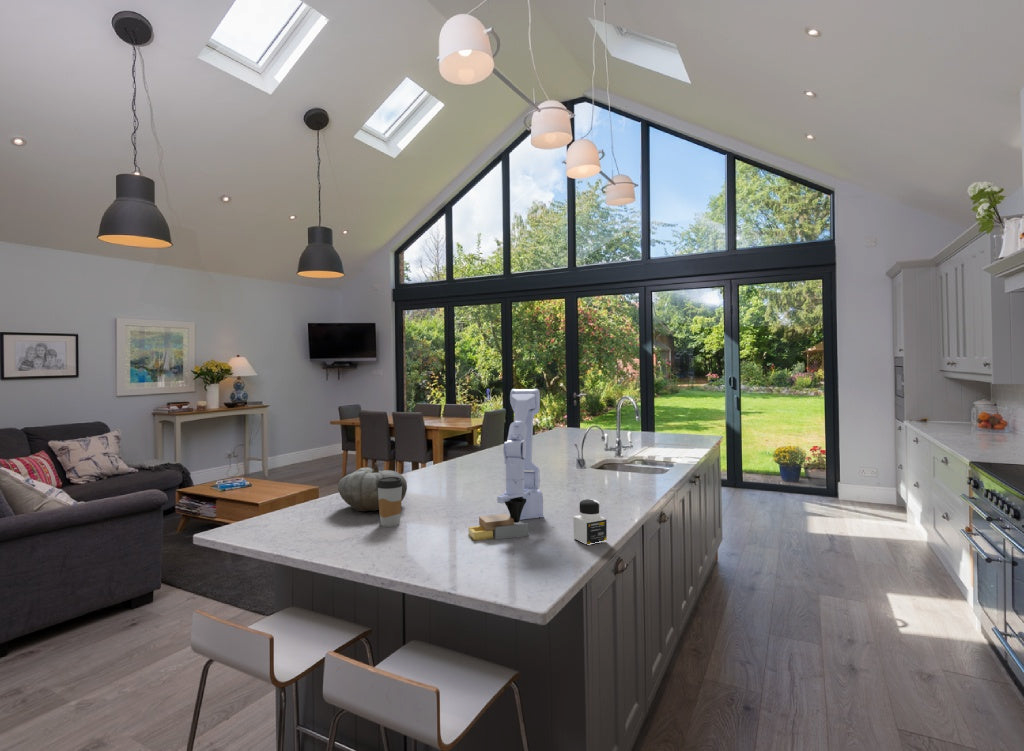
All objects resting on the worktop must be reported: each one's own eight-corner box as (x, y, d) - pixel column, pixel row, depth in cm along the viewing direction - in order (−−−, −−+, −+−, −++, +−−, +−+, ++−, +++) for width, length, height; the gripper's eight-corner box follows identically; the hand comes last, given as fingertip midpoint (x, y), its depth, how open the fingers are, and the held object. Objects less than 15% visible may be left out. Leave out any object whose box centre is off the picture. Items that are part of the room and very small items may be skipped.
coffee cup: (408, 522, 185) (407, 477, 184) (392, 529, 177) (392, 482, 177) (388, 519, 188) (387, 475, 188) (372, 526, 181) (371, 480, 180)
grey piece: (518, 527, 177) (518, 516, 177) (528, 535, 169) (528, 523, 169) (487, 531, 174) (487, 519, 174) (496, 539, 165) (496, 527, 165)
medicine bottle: (587, 546, 158) (586, 504, 158) (573, 539, 165) (572, 499, 165) (607, 542, 162) (606, 501, 161) (592, 535, 168) (592, 496, 168)
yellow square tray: (487, 532, 172) (487, 525, 172) (493, 538, 166) (493, 530, 166) (468, 534, 170) (468, 527, 170) (474, 540, 164) (473, 532, 164)
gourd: (339, 513, 186) (343, 461, 189) (332, 508, 209) (336, 462, 212) (412, 513, 196) (415, 463, 199) (398, 508, 218) (401, 464, 221)
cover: (506, 521, 175) (506, 513, 175) (514, 527, 169) (513, 519, 169) (479, 524, 172) (479, 516, 172) (486, 530, 166) (485, 522, 165)
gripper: (520, 473, 180) (520, 514, 180) (489, 480, 169) (490, 524, 169) (537, 476, 175) (537, 518, 176) (507, 483, 164) (507, 528, 165)
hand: (515, 521), depth 172 cm, fingers closed
